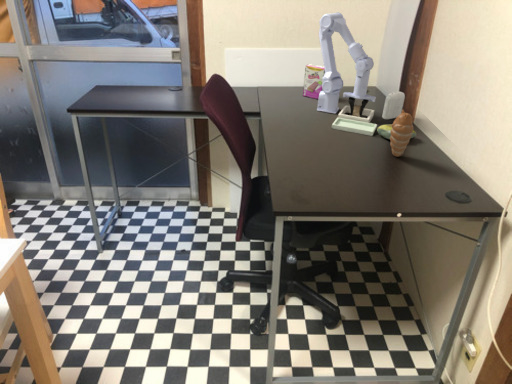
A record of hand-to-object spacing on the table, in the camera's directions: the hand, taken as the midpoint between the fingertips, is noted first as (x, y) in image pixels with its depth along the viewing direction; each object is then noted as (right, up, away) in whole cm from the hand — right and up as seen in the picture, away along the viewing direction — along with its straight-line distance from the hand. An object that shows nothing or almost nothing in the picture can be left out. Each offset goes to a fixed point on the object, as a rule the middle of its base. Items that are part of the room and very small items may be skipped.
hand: (356, 114), depth 192 cm
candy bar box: (-16, +14, +27) cm, 34 cm away
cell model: (+12, -14, -17) cm, 25 cm away
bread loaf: (0, -2, +1) cm, 2 cm away
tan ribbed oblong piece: (+7, -23, -33) cm, 41 cm away
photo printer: (+18, -1, +4) cm, 18 cm away
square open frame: (0, -2, +1) cm, 2 cm away
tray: (-3, -8, -10) cm, 13 cm away
